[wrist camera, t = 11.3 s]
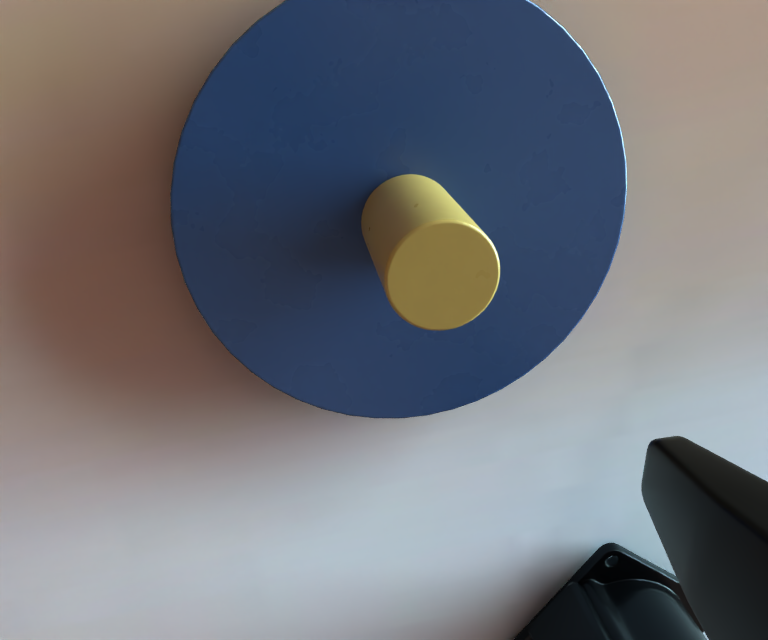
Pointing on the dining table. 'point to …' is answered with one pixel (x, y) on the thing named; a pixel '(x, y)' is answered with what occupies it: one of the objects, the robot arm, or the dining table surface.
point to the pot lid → (398, 199)
